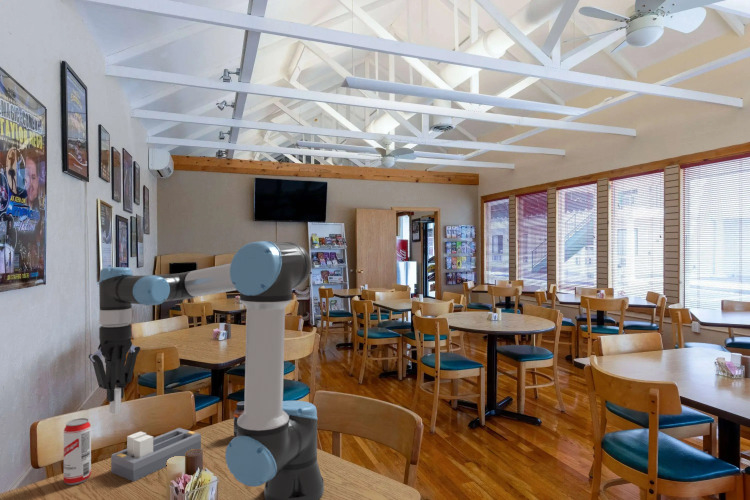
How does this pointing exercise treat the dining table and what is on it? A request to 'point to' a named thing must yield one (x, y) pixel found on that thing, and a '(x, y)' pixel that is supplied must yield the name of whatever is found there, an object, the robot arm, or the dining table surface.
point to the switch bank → (155, 454)
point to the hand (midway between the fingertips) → (115, 412)
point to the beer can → (77, 451)
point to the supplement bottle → (238, 415)
